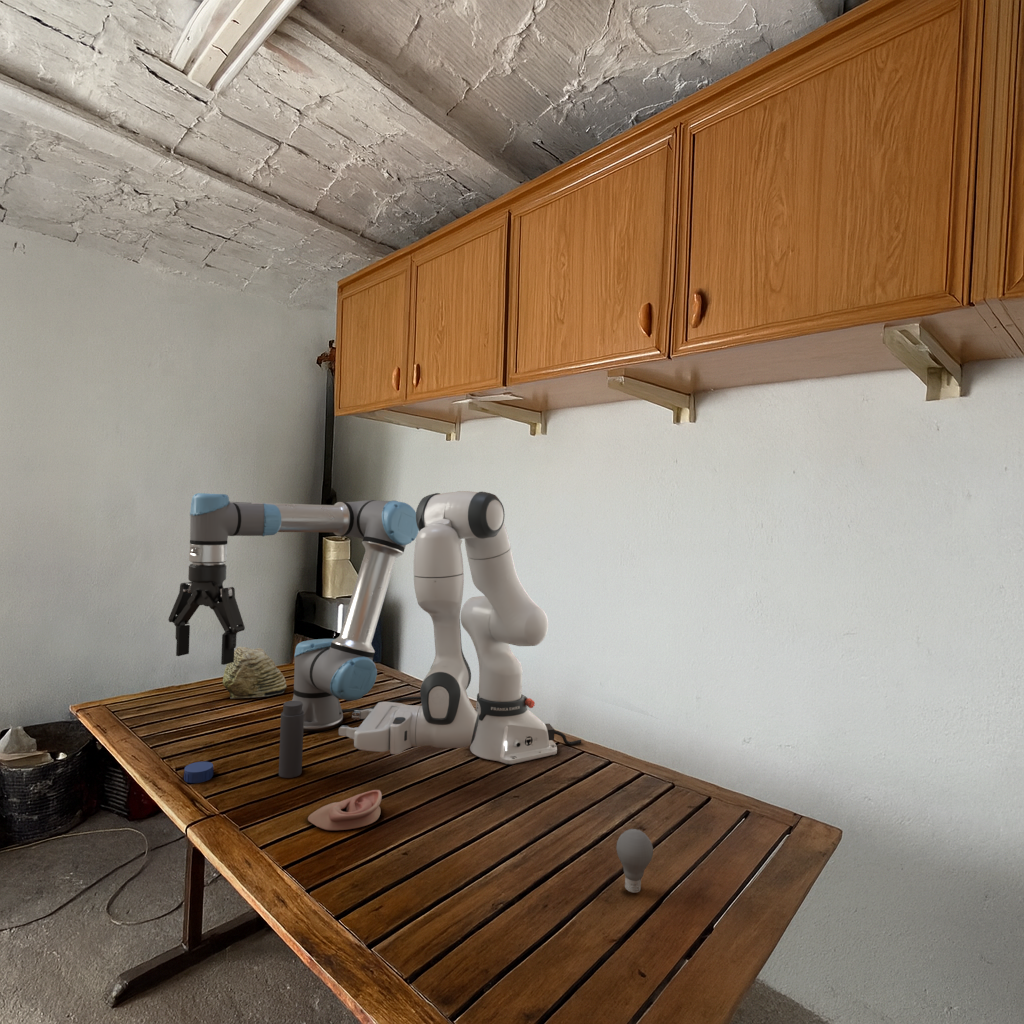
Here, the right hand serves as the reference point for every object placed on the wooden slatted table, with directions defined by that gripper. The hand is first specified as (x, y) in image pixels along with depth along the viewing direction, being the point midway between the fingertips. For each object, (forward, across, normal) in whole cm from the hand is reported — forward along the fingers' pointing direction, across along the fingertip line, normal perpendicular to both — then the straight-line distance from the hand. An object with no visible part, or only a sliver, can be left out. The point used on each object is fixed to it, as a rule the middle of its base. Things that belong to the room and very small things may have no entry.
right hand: (346, 722), depth 144 cm
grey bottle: (+13, +1, +12) cm, 18 cm away
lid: (+31, +6, +10) cm, 33 cm away
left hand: (+31, +5, -14) cm, 34 cm away
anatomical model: (-6, +18, +12) cm, 23 cm away
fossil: (+46, -51, +13) cm, 70 cm away
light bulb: (-60, +35, +12) cm, 71 cm away
